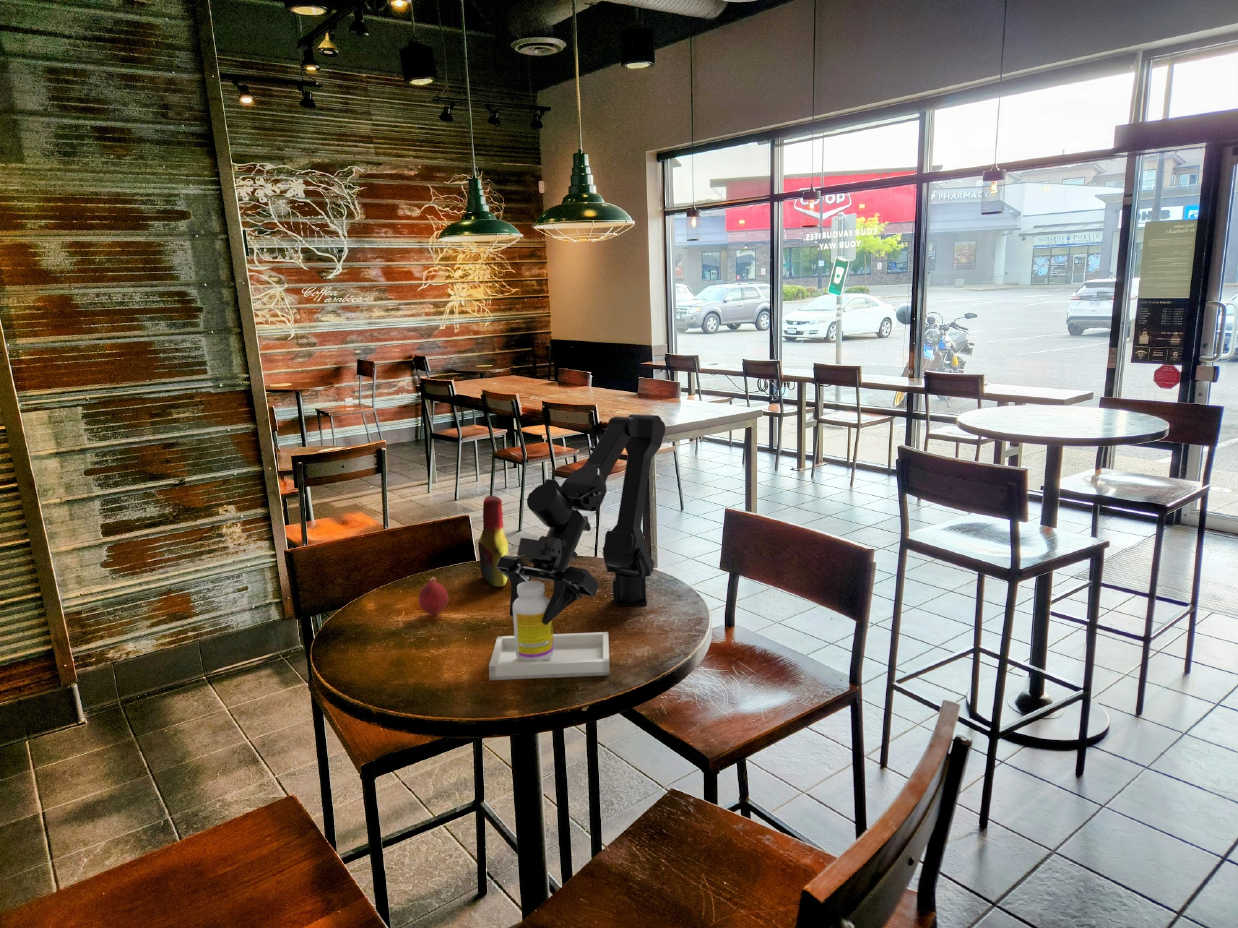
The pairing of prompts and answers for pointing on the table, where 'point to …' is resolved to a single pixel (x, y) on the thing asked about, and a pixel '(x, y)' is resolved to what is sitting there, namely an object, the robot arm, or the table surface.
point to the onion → (433, 597)
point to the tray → (554, 658)
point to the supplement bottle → (532, 623)
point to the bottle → (492, 542)
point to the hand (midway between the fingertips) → (527, 619)
